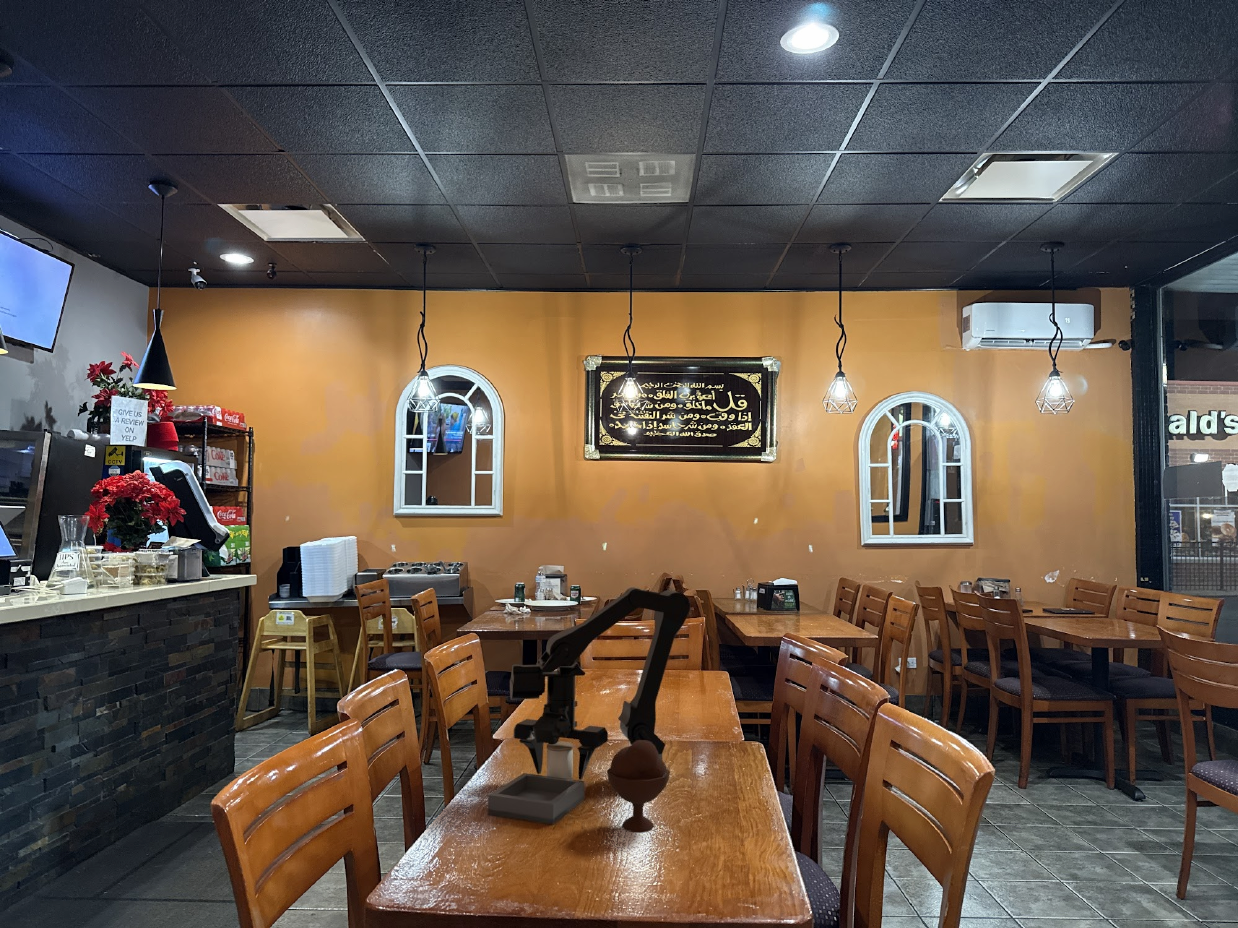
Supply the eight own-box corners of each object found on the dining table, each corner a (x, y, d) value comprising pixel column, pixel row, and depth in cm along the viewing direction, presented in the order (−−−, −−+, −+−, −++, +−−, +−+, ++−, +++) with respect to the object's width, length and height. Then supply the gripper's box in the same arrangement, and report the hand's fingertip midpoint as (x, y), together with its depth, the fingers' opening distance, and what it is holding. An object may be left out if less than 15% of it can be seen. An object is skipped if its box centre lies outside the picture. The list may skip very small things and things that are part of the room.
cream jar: (577, 783, 165) (577, 742, 166) (566, 791, 160) (566, 749, 161) (553, 779, 167) (553, 740, 168) (541, 787, 162) (542, 746, 163)
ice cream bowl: (675, 819, 145) (676, 733, 147) (658, 842, 135) (658, 749, 136) (619, 811, 149) (620, 728, 150) (598, 833, 138) (599, 743, 139)
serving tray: (584, 799, 155) (584, 780, 155) (553, 824, 142) (553, 804, 142) (523, 791, 160) (523, 772, 160) (487, 814, 147) (488, 794, 147)
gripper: (501, 701, 161) (499, 782, 160) (588, 710, 154) (586, 794, 153) (526, 690, 171) (525, 766, 170) (609, 698, 165) (608, 777, 163)
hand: (559, 776), depth 164 cm, fingers open, 9 cm apart
